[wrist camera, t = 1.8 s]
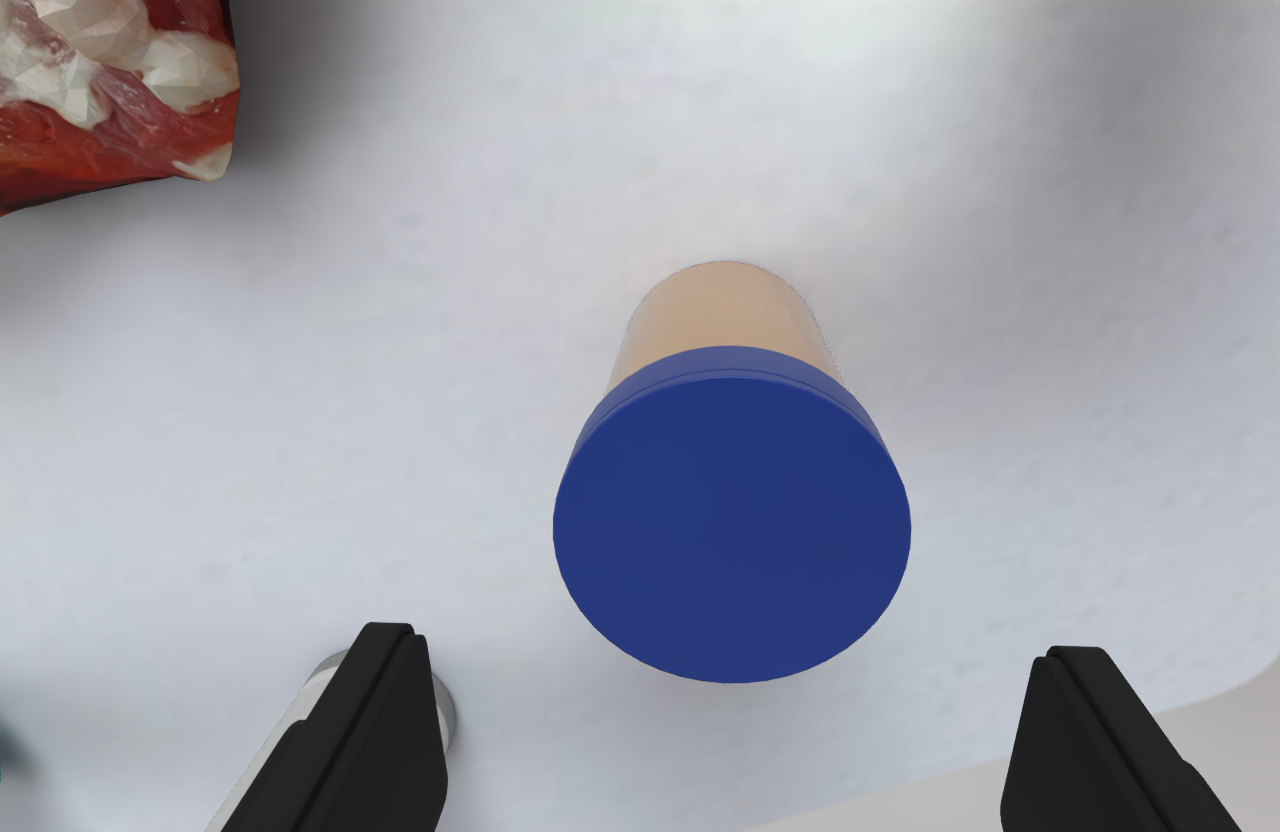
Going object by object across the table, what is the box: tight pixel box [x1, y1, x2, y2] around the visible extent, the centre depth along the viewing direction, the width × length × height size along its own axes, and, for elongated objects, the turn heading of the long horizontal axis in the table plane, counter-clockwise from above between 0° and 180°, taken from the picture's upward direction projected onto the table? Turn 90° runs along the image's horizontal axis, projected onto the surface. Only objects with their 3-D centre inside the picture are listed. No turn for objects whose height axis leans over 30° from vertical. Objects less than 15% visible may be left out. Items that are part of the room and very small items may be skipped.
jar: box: [603, 262, 847, 399], centre depth 20 cm, size 6×6×11 cm
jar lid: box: [553, 345, 911, 683], centre depth 16 cm, size 7×7×2 cm
